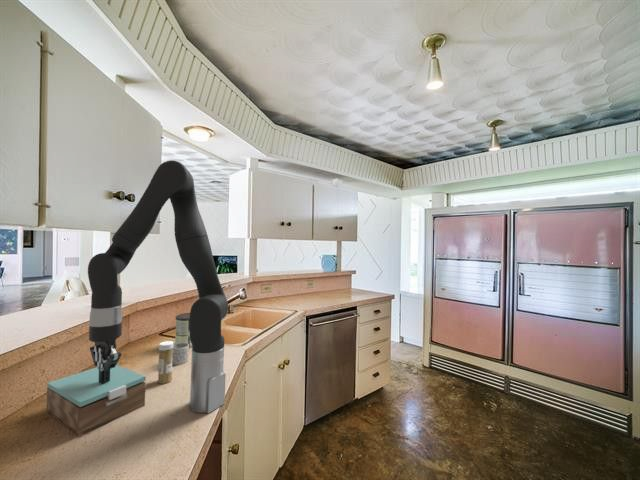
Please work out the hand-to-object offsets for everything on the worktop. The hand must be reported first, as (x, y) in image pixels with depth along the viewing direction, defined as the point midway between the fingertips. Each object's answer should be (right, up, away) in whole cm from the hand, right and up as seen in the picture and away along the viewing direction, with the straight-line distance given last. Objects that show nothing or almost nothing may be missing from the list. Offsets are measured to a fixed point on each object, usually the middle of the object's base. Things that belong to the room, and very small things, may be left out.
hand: (104, 382), depth 80 cm
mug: (+4, -9, +33) cm, 34 cm away
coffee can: (-1, -9, +53) cm, 54 cm away
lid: (-2, -2, +1) cm, 3 cm away
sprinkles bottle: (+7, -9, +19) cm, 22 cm away
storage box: (-3, -9, +1) cm, 9 cm away
